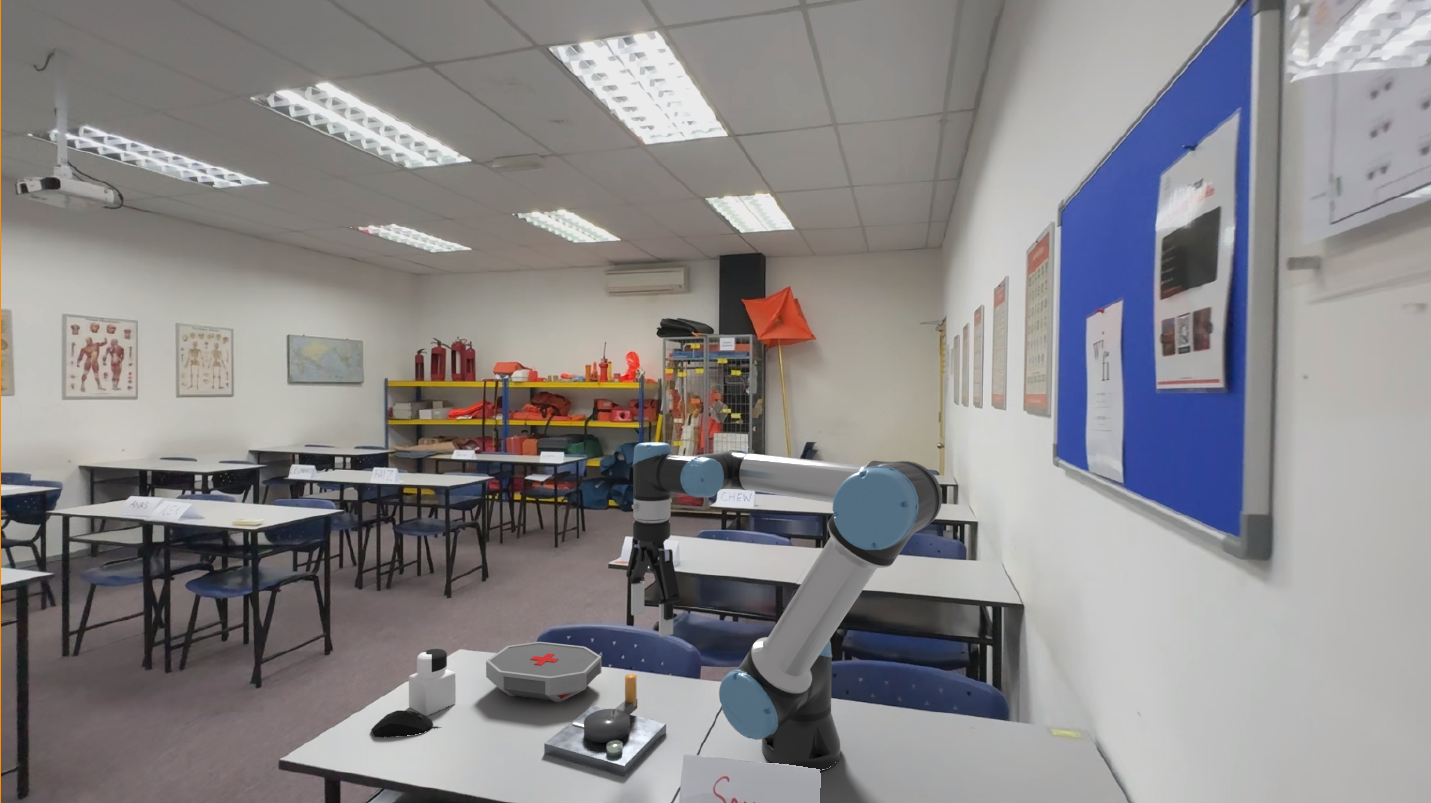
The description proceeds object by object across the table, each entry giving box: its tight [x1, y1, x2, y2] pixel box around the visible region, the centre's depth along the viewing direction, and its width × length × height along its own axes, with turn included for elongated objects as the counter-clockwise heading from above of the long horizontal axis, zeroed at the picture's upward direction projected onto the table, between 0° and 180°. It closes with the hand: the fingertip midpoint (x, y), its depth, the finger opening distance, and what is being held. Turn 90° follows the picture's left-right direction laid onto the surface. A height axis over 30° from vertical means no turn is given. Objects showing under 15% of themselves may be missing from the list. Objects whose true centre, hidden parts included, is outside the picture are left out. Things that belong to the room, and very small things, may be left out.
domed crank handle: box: [584, 673, 638, 743], centre depth 128 cm, size 15×9×7 cm, turn 156°
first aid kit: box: [485, 641, 602, 703], centre depth 147 cm, size 18×8×25 cm
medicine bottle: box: [408, 648, 457, 717], centre depth 140 cm, size 7×7×12 cm
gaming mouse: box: [370, 709, 443, 739], centre depth 131 cm, size 6×15×4 cm, turn 94°
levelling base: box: [543, 705, 667, 778], centre depth 125 cm, size 18×16×3 cm
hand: (651, 624), depth 128 cm, fingers open, 12 cm apart
